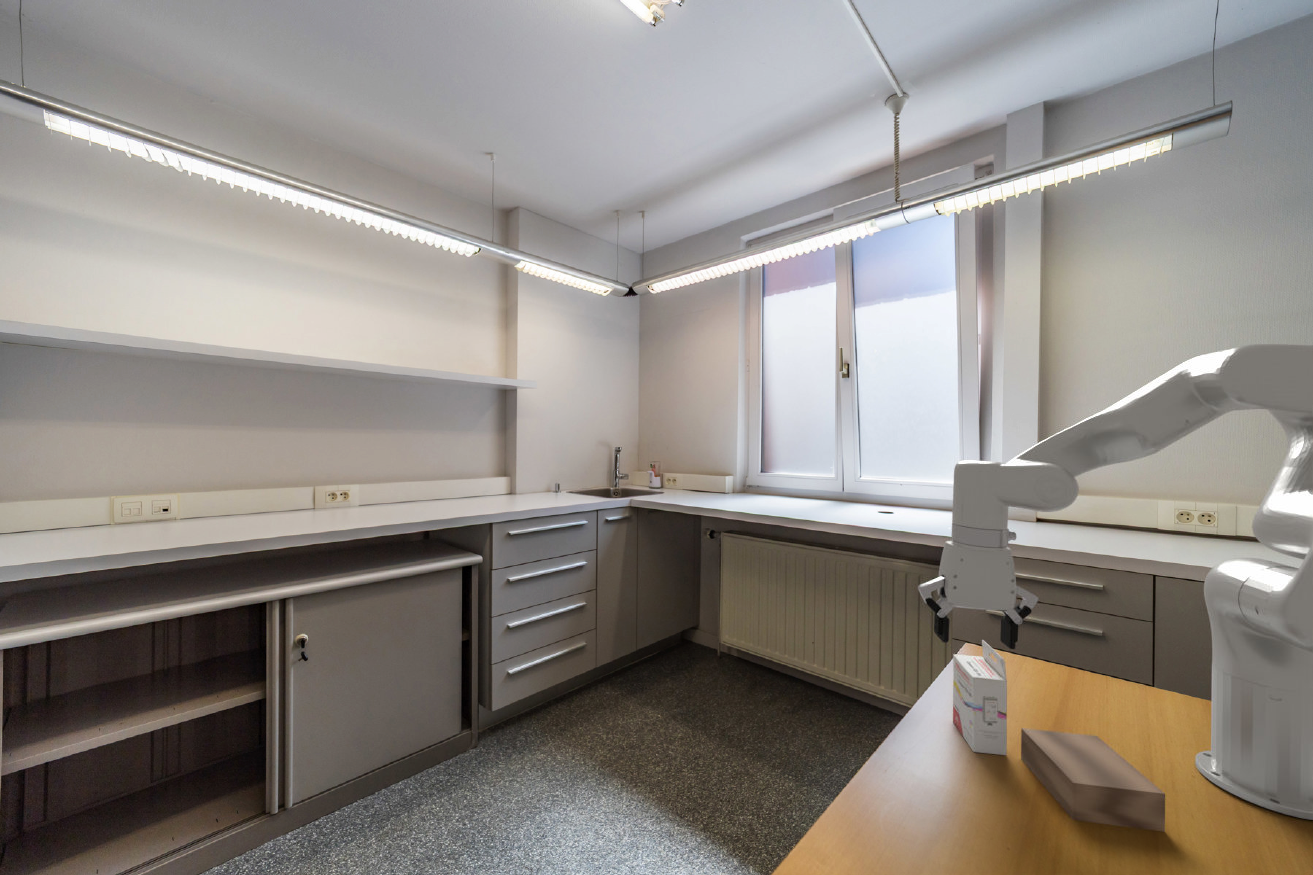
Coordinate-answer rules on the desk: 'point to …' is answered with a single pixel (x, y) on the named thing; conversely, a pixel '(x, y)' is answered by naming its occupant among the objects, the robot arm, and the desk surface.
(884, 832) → the desk surface
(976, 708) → the ink cartridge box
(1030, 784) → the desk surface
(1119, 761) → the walnut block
